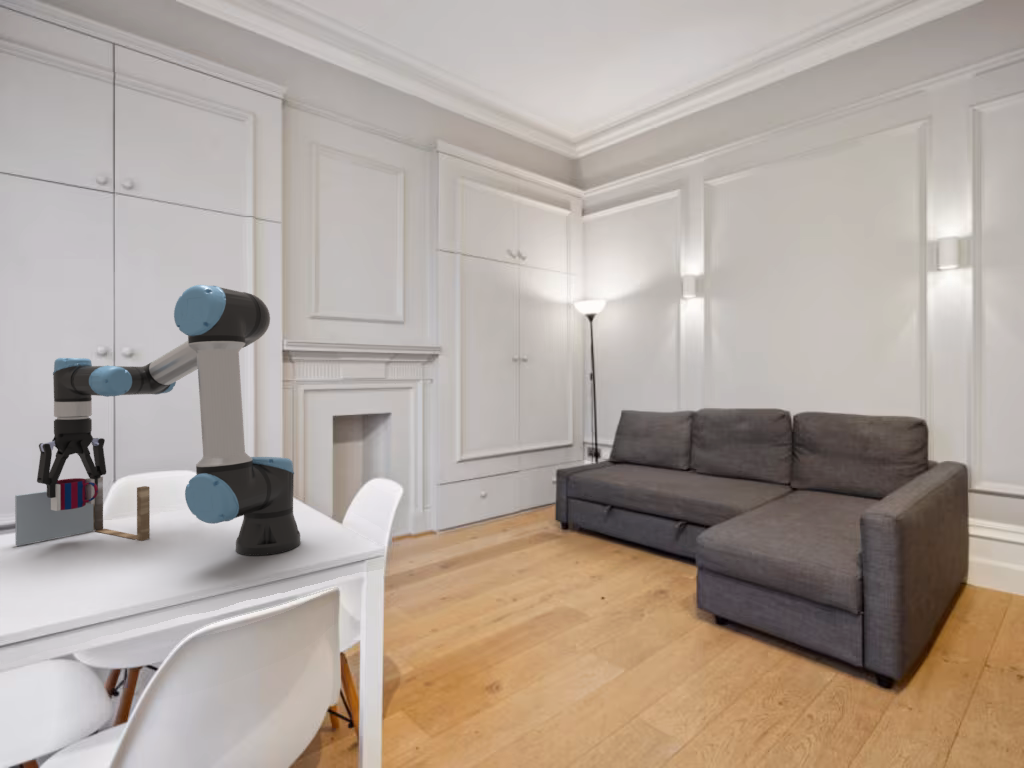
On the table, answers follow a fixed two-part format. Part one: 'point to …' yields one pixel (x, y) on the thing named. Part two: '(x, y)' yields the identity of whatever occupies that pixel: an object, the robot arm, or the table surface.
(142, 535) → the doorframe
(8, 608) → the table surface
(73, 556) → the table surface
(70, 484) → the mug
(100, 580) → the table surface
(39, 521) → the door
